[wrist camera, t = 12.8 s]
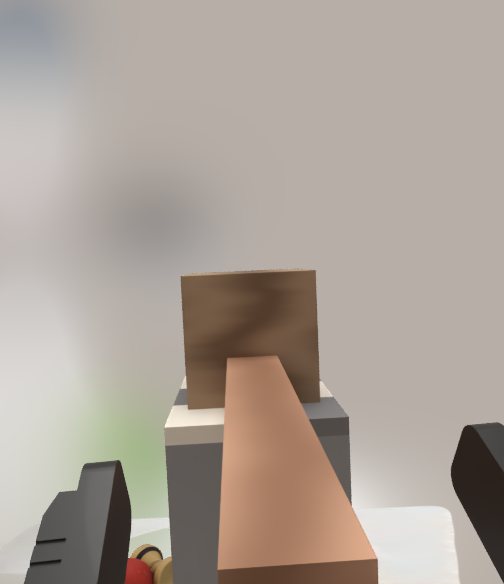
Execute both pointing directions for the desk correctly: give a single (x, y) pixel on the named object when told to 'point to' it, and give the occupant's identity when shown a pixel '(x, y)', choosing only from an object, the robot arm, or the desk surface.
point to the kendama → (148, 567)
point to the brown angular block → (269, 430)
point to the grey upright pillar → (208, 476)
